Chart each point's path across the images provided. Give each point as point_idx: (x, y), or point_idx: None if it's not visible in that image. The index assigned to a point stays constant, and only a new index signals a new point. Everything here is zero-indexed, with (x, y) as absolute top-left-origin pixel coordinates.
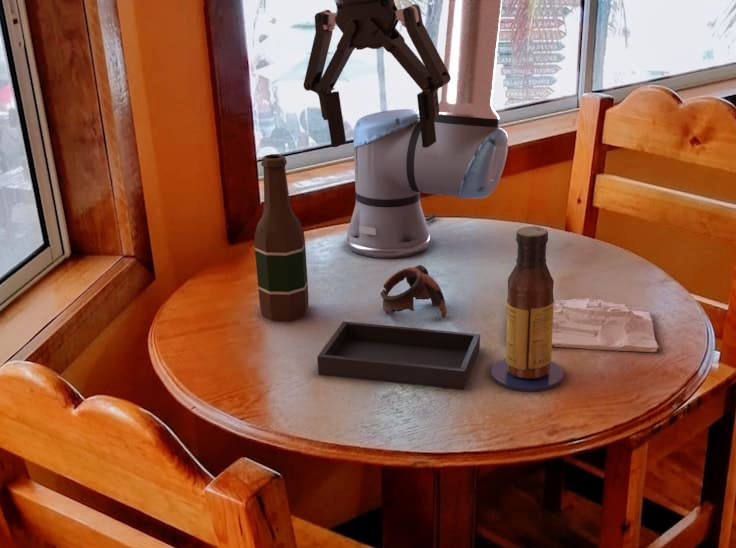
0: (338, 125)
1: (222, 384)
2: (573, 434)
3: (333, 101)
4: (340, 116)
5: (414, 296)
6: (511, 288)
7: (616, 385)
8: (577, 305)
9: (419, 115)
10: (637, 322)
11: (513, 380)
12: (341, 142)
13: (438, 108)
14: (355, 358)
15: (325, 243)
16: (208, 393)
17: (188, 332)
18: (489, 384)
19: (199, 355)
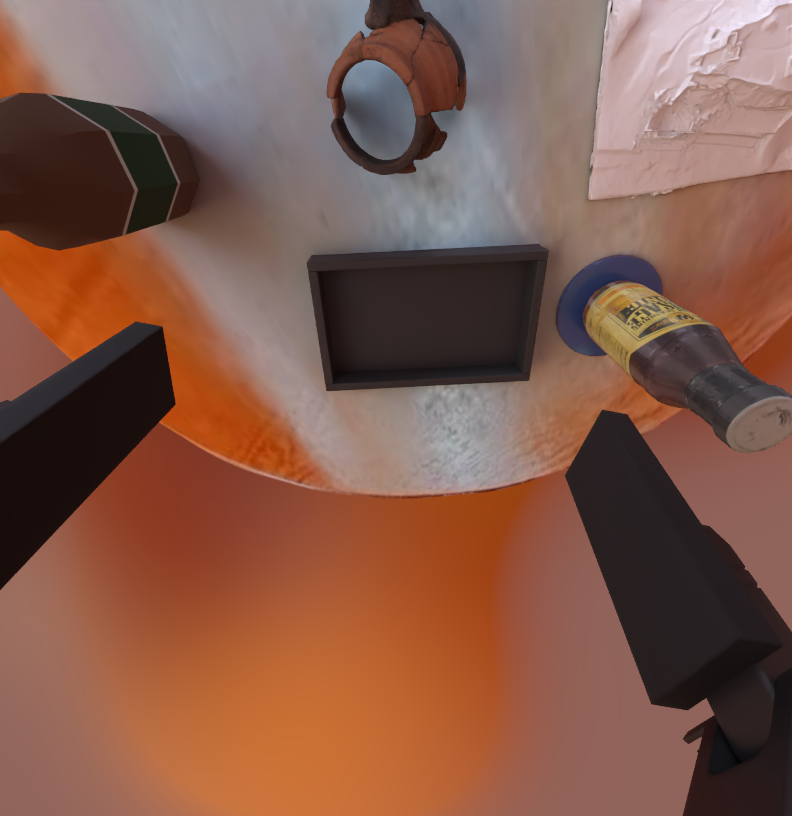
0: (116, 414)
1: (232, 428)
2: (642, 428)
3: (14, 524)
4: (80, 408)
5: (415, 158)
6: (649, 393)
7: (729, 302)
8: (770, 61)
9: (608, 585)
10: None
11: (588, 340)
12: (165, 368)
13: (737, 567)
14: (378, 384)
15: None
16: (232, 448)
17: (68, 303)
18: (553, 345)
19: None
